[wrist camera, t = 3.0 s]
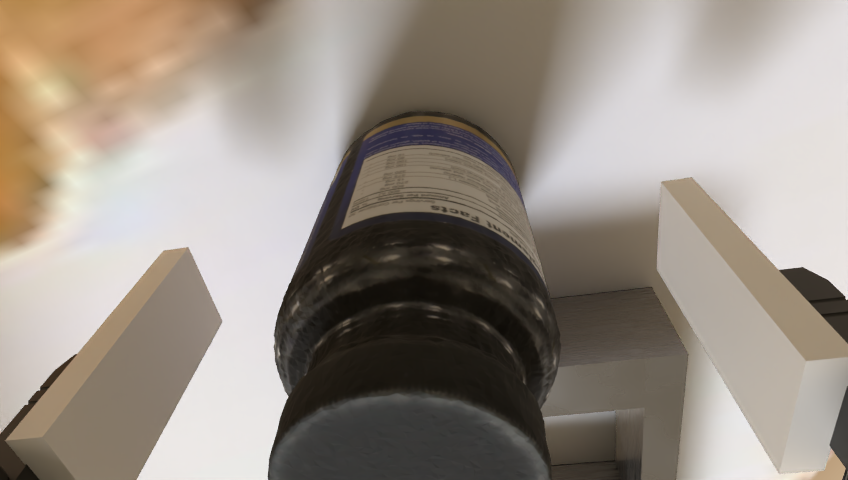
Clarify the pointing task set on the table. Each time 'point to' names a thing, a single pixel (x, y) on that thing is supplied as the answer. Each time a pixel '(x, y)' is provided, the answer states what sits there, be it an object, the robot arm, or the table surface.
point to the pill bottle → (417, 317)
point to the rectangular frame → (621, 381)
